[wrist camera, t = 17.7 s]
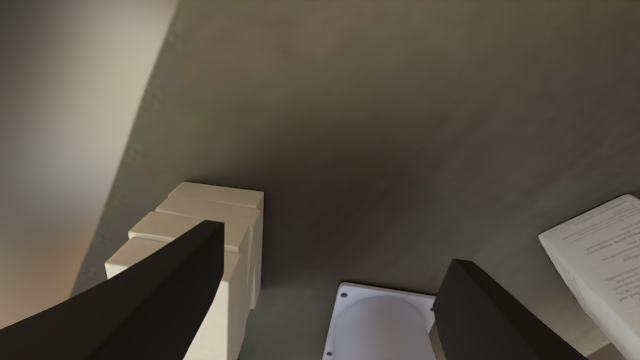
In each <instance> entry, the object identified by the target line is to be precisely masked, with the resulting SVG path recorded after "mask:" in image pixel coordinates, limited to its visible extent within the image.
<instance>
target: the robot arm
mask: <svg viewBox="0 0 640 360" xmlns="http://www.w3.org/2000/svg"><path fill="white" fill-rule="evenodd" d="M224 240H225V222H218V221H212V220H206V219H205V220H204V221H202V222H200V223H199V224H197V225H196V226H194V227H193V228H191V229H190V230H188V231H187V232H185V233H183V234H182V235H180V236H179V237H177V238H176V239H174V240H173V241H171V242H170V243H168V244H166V245H165V246H163V247H162V248H160V249H159V250H157V251H155V252H154V253H152V254H151V255H149V256H147V257H146V258H144V259H142V260H141V261H139V262H137V263H135V264H134V265H132V266H130V267H128V268H127V269H125V270H123V271H121V272H120V273H118V274H116V275H115V276H113V277H111V278H109V279H107V280H106V281H104V282H102V283H100V284H98V285H96V286H94V287H92V288H90V289H88V290H86V291H84V292H82V293H80V294H78V295H76V296H74V297H72V298H70V299H68V300H66V301H64V302H62V303H60V304H58V305H55V306H53V307H52V308H49V309H47V310H45V311H42V312H40V313H38V314H35V315H33V316H31V317H28V318H26V319H24V320H21V321H19V322H17V323H14V324H12V325H10V326H7V327H5V328H3V329H1V330H0V360H183V359H184V357H185V355H186V353H187V351H188V349H189V347H190V345H191V343H192V341H193V340H194V338H195V336H196V334H197V332H198V330H199V328H200V326H201V324H202V322H203V321H204V319H205V317H206V315H207V313H208V311H209V309H210V307H211V305H212V303H213V301H214V298H215V295H216V293H217V290H218V288H219V285H220V282H221V280H222V277H223V274H224ZM342 293H346V294H342ZM431 307H433V308H431ZM434 321H436V326H437V330H438V335H439V339H440V342H441V345H442V348H443V351H444V354H445V357H446V360H588V359H587V358H586V357H584V356H583V355H582V354H581V353H579V352H578V351H577V350H576V349H574V348H573V347H572V346H571V345H570V344H568V343H567V342H566V341H565V340H563V339H562V338H561V337H560V336H558V335H557V334H556V333H555V332H554V331H552V330H551V329H550V328H549V327H548V326H547V325H545V324H544V323H543V322H542V321H541V320H540V319H538V318H537V317H536V316H535V315H534V314H533V313H531V312H530V311H529V310H528V309H527V308H526V307H525V306H523V305H522V304H521V303H520V302H519V301H518V300H517V299H515V298H514V297H513V296H512V295H511V294H510V293H509V292H508V291H506V290H505V289H504V288H503V287H502V286H501V285H500V284H499V283H497V282H496V281H495V280H494V279H493V278H492V277H491V276H489V275H488V274H487V273H486V272H485V271H484V270H482V269H481V268H480V267H479V266H477V265H476V264H475V263H474V262H472V261H467V260H460V259H454V258H453V259H452V262H451V264H450V266H449V268H448V271H447V273H446V275H445V278H444V280H443V282H442V285H441V287H440V289H439V291H438V294H437V296H430V295H424V294H417V293H411V292H404V291H398V290H392V289H385V288H379V287H373V286H366V285H360V284H353V283H347V282H344V283H341V284H340V285H339V288H338V293H337V297H336V301H335V305H334V310H333V314H332V318H331V322H330V326H329V331H328V335H327V339H326V343H325V348H324V352H323V356H322V360H436V358H435V355H434V352H433V348H432V345H431V342H430V338H429V335H428V334H429V332H430V330H431V327H432V325H433V323H434Z"/></svg>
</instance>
